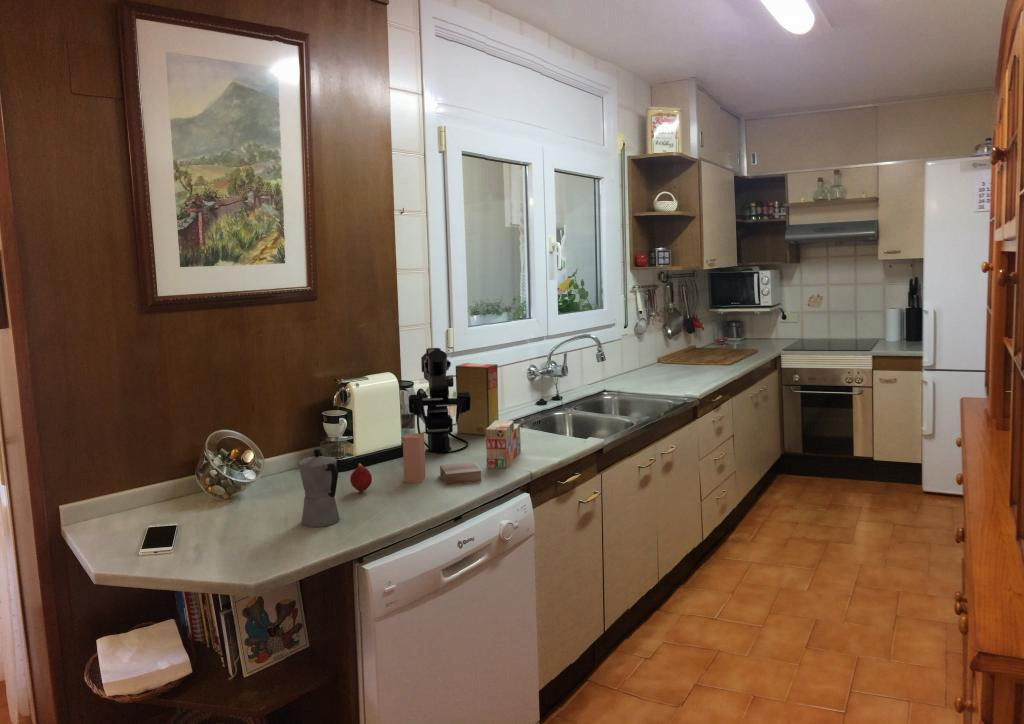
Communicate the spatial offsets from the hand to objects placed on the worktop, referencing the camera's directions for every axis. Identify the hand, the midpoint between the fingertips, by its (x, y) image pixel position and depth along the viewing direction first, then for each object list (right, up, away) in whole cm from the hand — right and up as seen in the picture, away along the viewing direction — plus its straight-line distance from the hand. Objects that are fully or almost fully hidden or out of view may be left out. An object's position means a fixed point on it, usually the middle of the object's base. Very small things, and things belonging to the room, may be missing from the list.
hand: (441, 422), depth 224 cm
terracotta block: (-7, -16, -6) cm, 19 cm away
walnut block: (+6, -16, -6) cm, 18 cm away
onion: (-20, -18, -17) cm, 32 cm away
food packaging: (+9, -8, +54) cm, 55 cm away
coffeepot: (-25, -21, -41) cm, 52 cm away
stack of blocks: (+19, -13, +15) cm, 27 cm away
